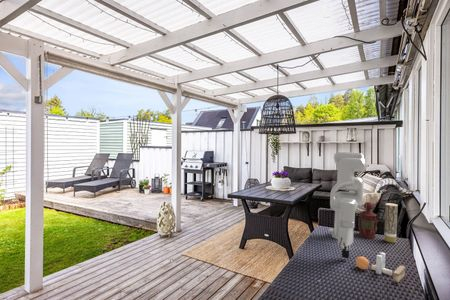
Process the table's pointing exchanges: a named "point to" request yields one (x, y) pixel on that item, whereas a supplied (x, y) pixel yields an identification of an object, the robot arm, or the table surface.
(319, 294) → the table surface
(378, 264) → the back pin right
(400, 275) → the back wall
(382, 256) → the back pin left
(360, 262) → the ball
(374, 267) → the front pin
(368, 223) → the lantern
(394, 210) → the paper tube
